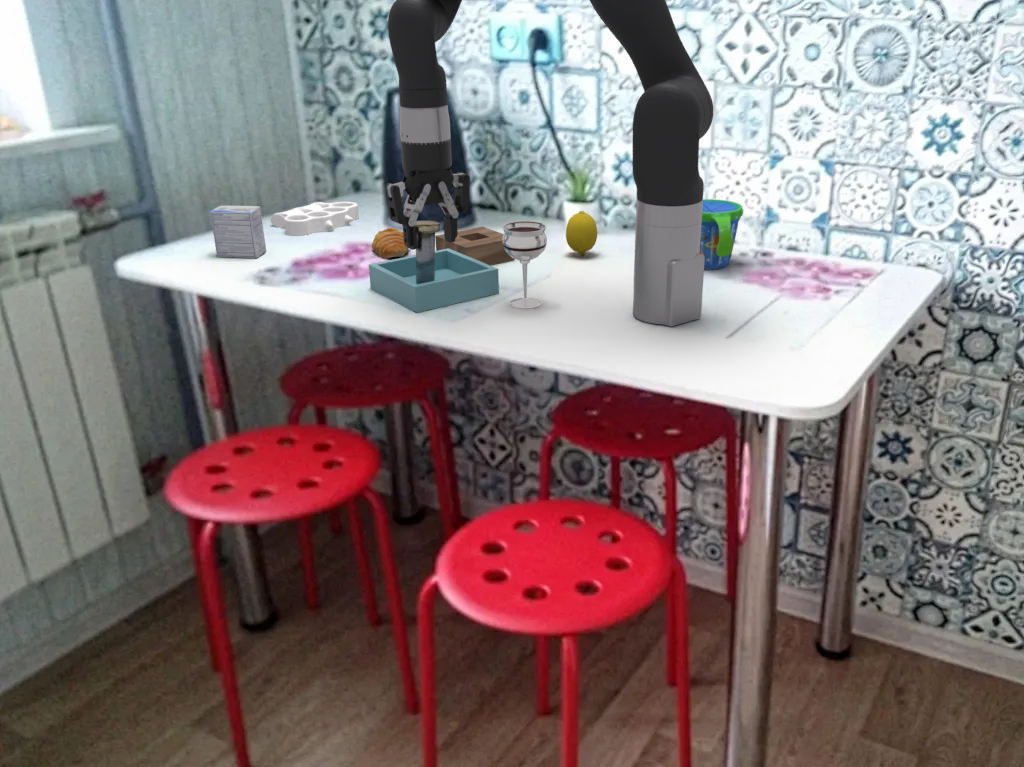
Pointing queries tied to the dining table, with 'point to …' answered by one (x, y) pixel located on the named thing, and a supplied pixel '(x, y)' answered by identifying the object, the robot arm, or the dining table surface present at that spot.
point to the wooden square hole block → (477, 245)
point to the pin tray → (452, 281)
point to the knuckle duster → (316, 218)
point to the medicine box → (238, 231)
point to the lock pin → (426, 251)
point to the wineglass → (524, 251)
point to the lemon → (581, 232)
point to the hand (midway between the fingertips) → (431, 244)
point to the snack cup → (718, 231)
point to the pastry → (389, 243)
